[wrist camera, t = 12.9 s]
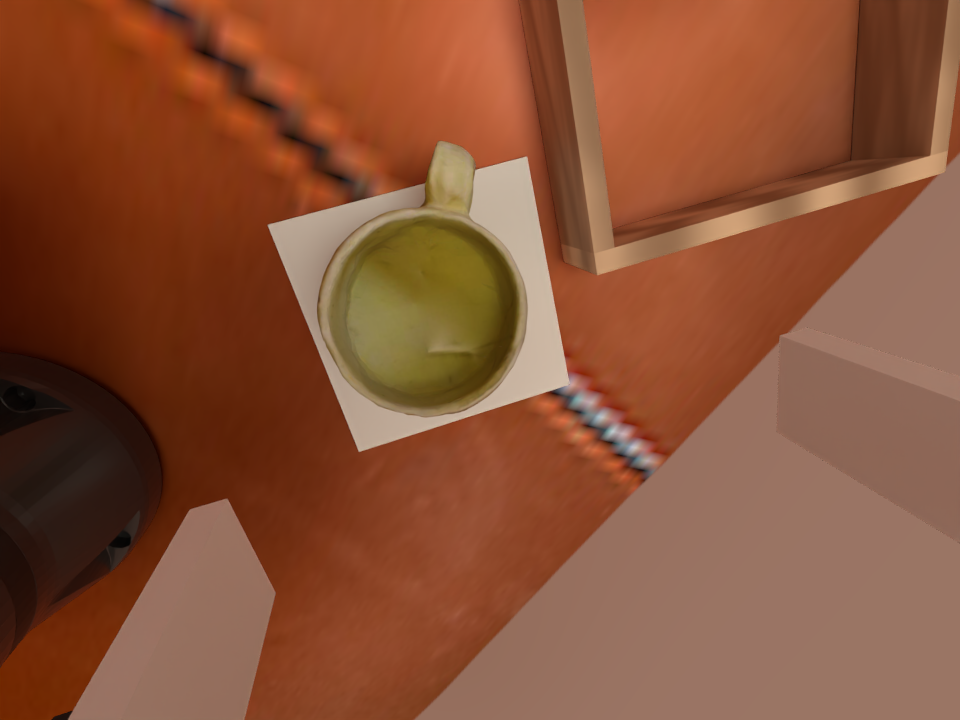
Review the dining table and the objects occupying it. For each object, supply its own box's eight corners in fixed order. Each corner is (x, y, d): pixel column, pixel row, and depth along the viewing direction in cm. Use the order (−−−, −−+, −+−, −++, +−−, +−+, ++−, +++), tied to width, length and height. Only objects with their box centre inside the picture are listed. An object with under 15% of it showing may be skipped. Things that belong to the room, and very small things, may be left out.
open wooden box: (563, 262, 30) (927, 404, 10) (508, -62, 24) (1172, -1318, 4) (865, 174, 33) (1639, 152, 13) (887, -142, 26) (2514, -1194, 6)
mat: (359, 447, 32) (359, 451, 31) (269, 224, 26) (267, 224, 26) (566, 381, 33) (569, 384, 33) (524, 157, 28) (527, 156, 27)
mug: (492, 440, 28) (472, 453, 18) (341, 375, 30) (247, 354, 20) (569, 253, 29) (589, 169, 19) (418, 199, 30) (365, 95, 21)
